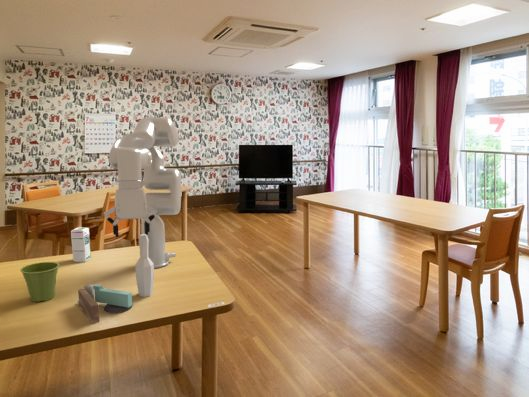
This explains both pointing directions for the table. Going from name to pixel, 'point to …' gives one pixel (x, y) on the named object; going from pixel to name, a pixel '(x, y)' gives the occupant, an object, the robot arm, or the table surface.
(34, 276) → the plant pot
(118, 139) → the robot arm
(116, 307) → the dark grey disc
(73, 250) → the syrup box
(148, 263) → the white bottle
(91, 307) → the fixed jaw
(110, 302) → the bar
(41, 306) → the table surface
